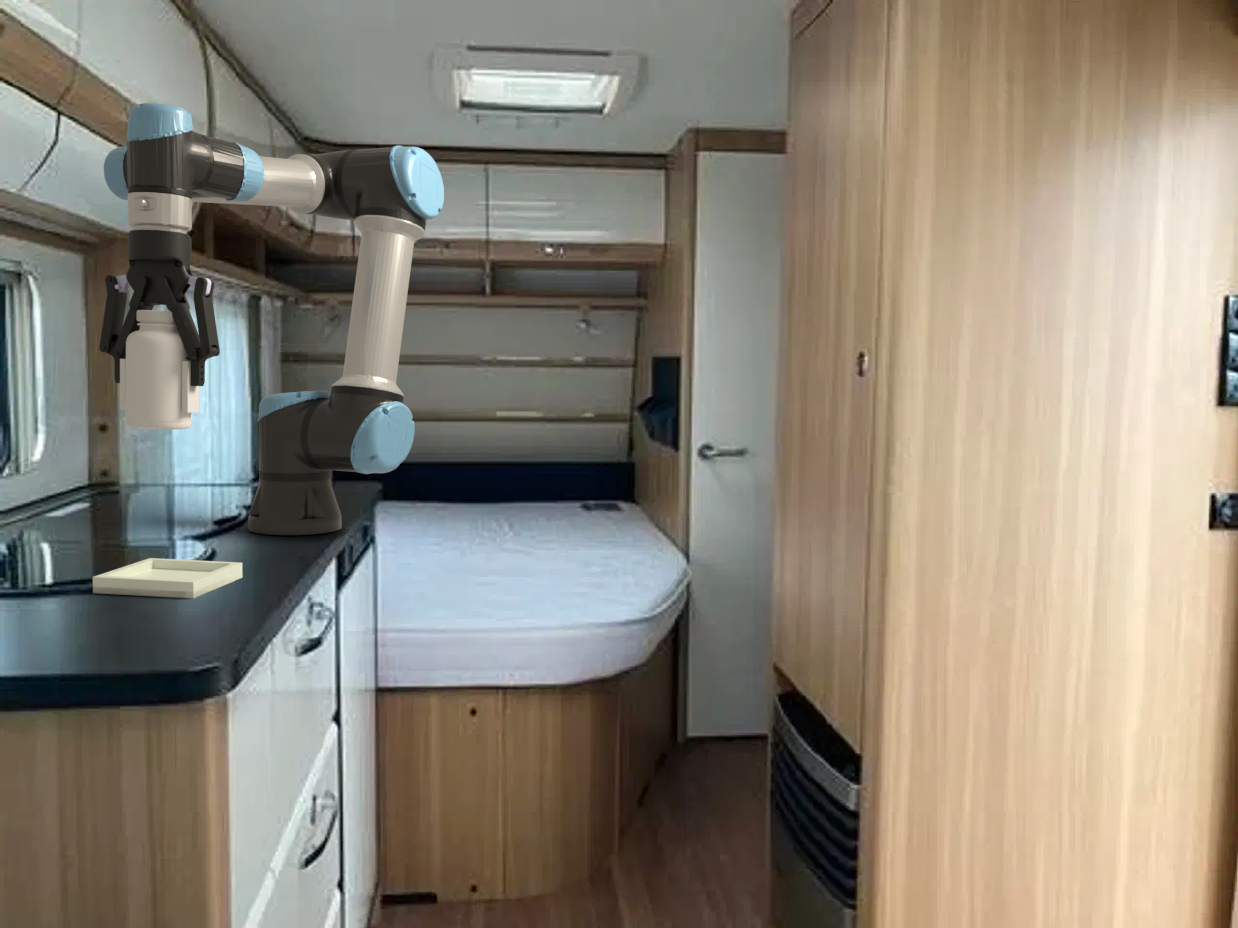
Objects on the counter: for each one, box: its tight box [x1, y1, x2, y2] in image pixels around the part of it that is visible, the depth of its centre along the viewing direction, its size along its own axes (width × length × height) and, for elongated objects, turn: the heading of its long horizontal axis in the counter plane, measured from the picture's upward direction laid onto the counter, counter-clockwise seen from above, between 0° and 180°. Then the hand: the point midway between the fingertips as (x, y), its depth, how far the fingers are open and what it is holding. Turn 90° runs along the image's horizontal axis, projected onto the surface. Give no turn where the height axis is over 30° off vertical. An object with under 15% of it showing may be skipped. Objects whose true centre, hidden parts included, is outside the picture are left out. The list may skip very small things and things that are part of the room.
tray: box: [92, 557, 243, 599], centre depth 141 cm, size 13×13×2 cm
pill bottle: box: [124, 309, 193, 430], centre depth 142 cm, size 8×8×15 cm
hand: (159, 410), depth 142 cm, fingers closed on pill bottle, 8 cm apart
